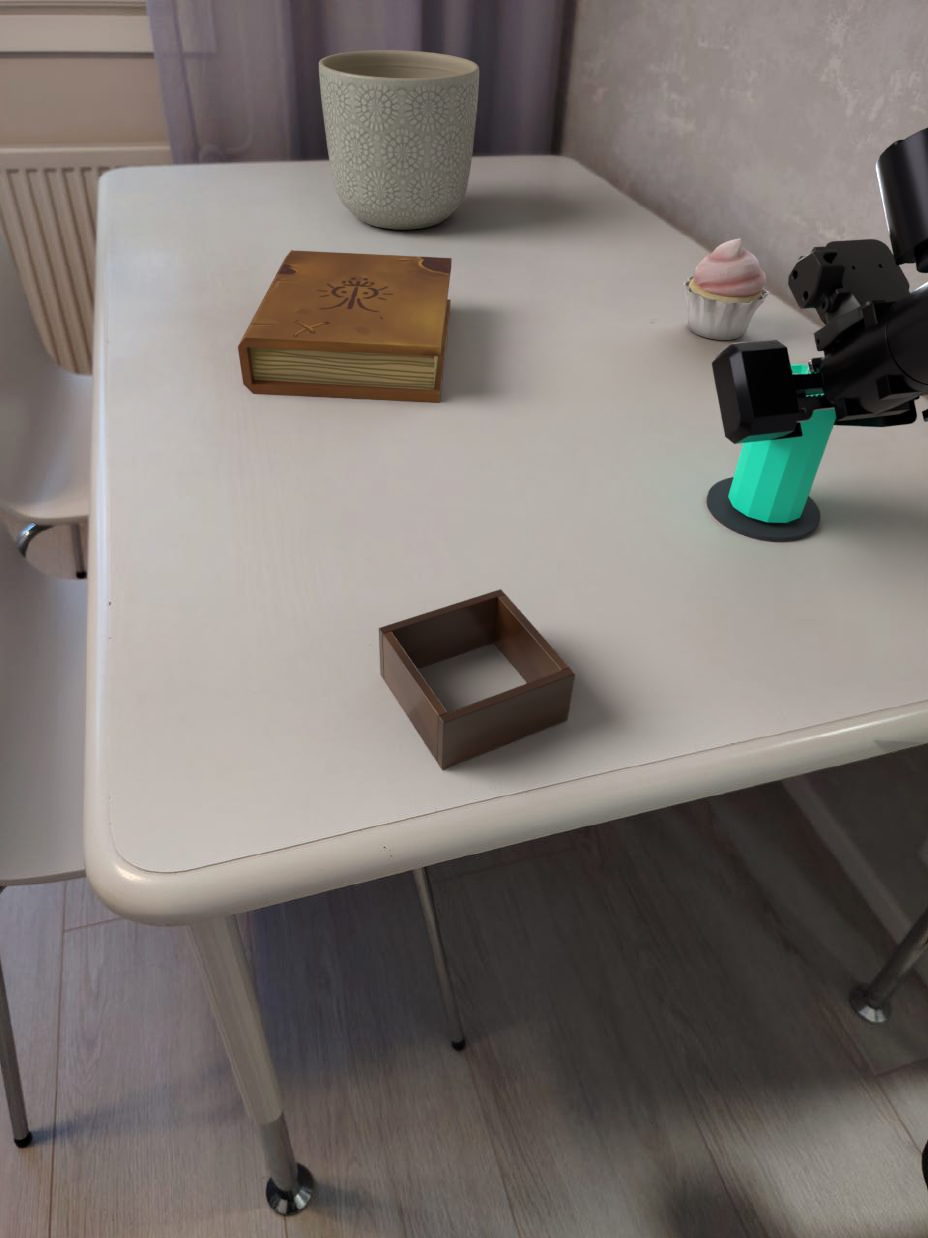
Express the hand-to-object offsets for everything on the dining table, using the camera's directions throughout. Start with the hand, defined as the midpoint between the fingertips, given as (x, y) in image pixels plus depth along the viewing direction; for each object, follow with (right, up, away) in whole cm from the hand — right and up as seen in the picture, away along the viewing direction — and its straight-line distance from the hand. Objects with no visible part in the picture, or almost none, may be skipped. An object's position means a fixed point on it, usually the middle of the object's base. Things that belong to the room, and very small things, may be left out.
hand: (779, 420), depth 67 cm
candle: (0, -6, +3) cm, 7 cm away
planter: (-33, +42, +58) cm, 79 cm away
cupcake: (+4, +17, +32) cm, 36 cm away
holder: (-24, -20, -13) cm, 34 cm away
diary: (-36, +13, +25) cm, 45 cm away
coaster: (0, -6, +4) cm, 8 cm away
